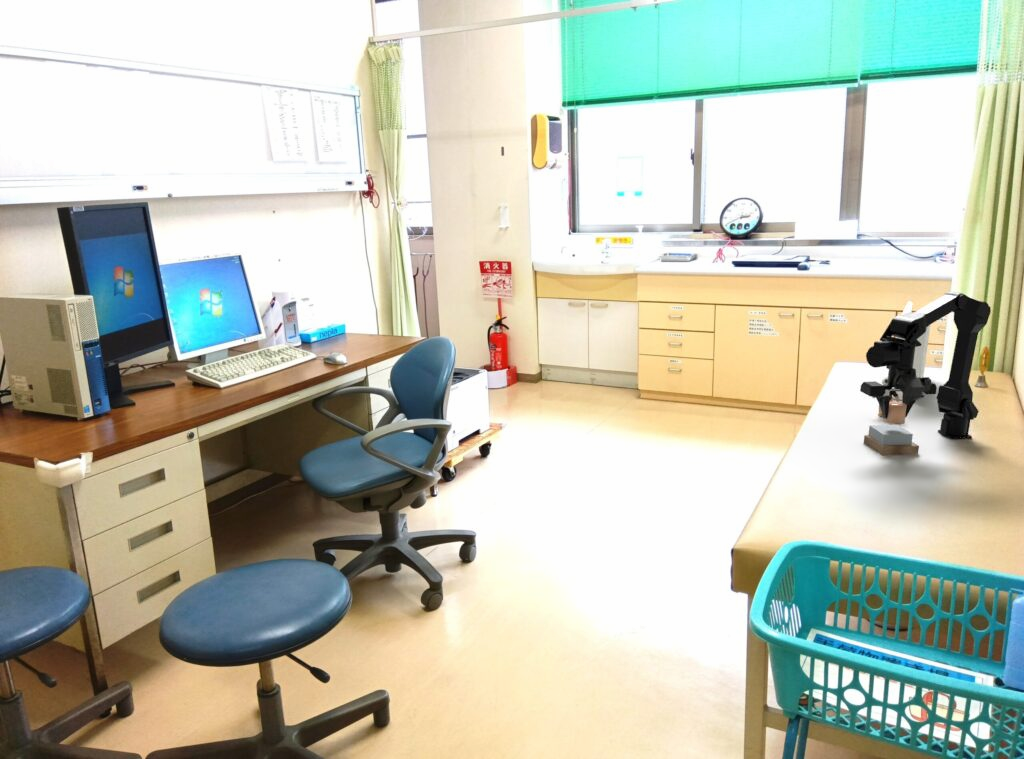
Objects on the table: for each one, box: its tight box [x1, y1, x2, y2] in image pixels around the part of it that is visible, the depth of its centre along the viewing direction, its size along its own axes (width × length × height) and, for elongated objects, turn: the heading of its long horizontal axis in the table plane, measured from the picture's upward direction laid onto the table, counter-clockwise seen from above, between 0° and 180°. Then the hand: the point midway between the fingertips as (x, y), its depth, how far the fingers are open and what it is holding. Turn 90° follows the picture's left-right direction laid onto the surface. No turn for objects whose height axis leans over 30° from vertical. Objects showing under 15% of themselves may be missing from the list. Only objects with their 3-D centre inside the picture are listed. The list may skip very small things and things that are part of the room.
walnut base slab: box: [863, 434, 920, 457], centre depth 211 cm, size 10×10×3 cm
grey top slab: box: [867, 424, 914, 445], centre depth 210 cm, size 8×8×3 cm
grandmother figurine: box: [871, 376, 901, 417], centre depth 237 cm, size 8×4×13 cm, turn 71°
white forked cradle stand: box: [892, 301, 931, 403], centre depth 265 cm, size 35×8×28 cm, turn 149°
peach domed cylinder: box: [884, 401, 907, 425], centre depth 208 cm, size 5×5×5 cm
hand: (894, 417), depth 209 cm, fingers closed on peach domed cylinder, 5 cm apart
